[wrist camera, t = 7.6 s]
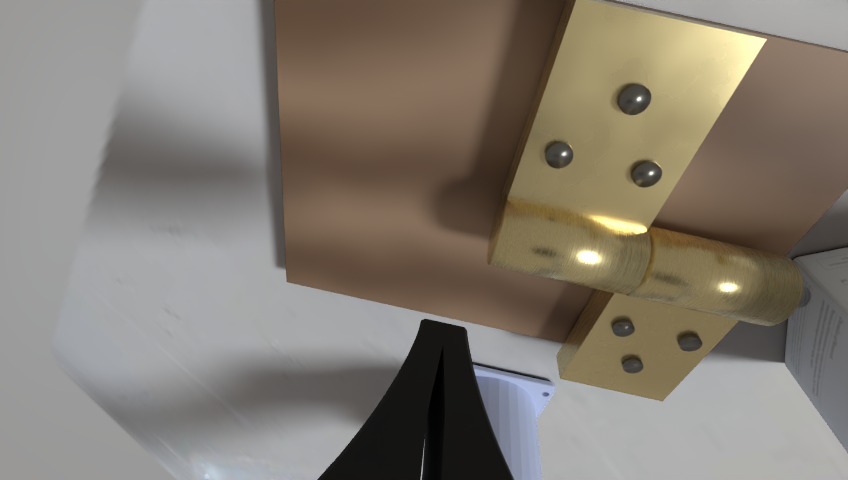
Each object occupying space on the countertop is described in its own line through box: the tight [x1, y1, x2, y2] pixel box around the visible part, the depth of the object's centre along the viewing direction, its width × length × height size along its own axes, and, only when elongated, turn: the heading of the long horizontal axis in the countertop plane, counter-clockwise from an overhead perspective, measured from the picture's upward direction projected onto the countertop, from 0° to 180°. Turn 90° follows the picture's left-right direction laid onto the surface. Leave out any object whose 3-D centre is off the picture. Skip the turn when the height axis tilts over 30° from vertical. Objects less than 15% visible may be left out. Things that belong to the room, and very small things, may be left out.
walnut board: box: [274, 0, 848, 343], centre depth 20 cm, size 17×24×1 cm
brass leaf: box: [487, 0, 767, 295], centre depth 16 cm, size 11×6×3 cm, turn 170°
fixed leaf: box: [557, 226, 811, 401], centre depth 20 cm, size 11×7×3 cm
